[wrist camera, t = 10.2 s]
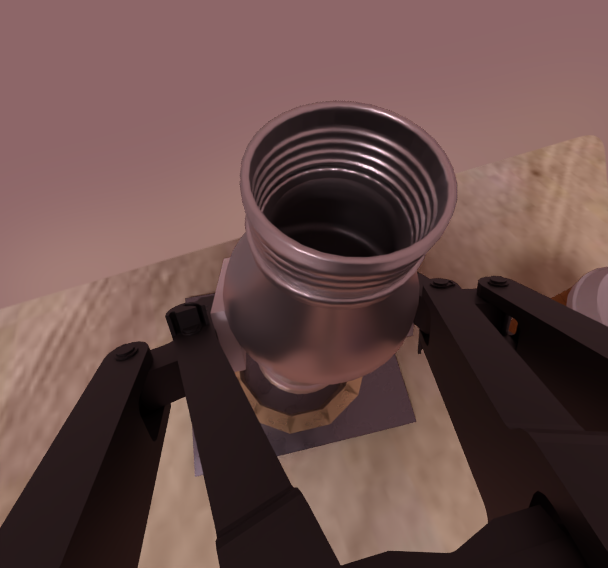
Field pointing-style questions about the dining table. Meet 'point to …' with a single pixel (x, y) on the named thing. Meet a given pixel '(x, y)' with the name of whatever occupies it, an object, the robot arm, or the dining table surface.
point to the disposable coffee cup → (585, 297)
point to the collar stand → (323, 408)
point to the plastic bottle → (334, 240)
